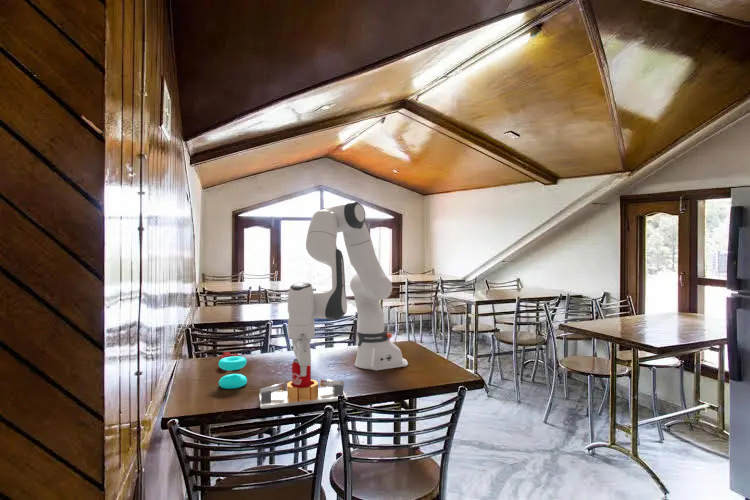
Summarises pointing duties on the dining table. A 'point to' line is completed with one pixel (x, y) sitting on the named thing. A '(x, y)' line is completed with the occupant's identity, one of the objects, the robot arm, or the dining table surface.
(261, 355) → the dining table surface
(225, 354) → the mechanical linkage
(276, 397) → the coupling base
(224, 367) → the donuts
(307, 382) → the beverage can
